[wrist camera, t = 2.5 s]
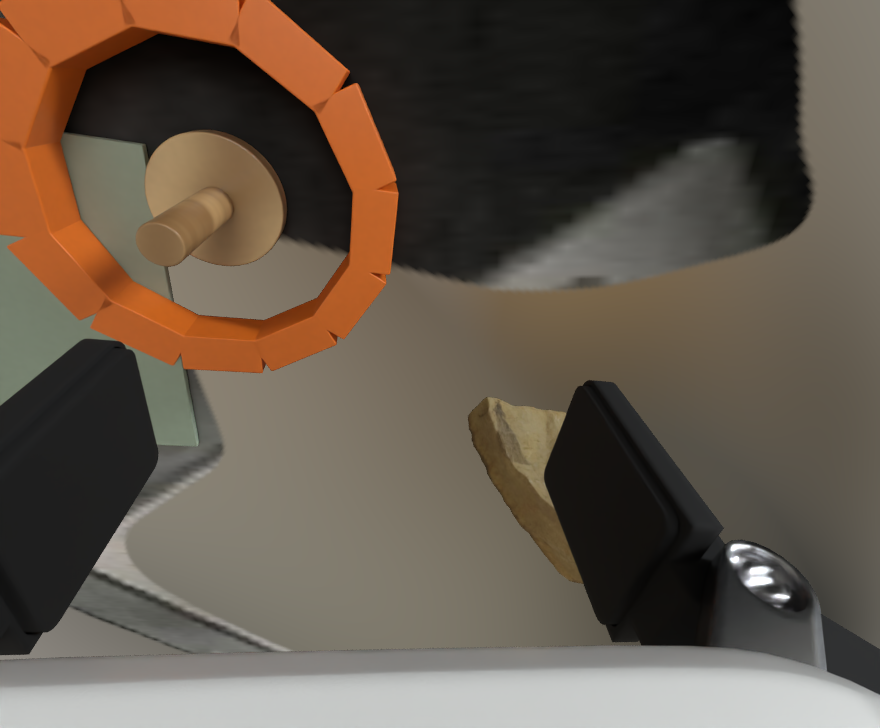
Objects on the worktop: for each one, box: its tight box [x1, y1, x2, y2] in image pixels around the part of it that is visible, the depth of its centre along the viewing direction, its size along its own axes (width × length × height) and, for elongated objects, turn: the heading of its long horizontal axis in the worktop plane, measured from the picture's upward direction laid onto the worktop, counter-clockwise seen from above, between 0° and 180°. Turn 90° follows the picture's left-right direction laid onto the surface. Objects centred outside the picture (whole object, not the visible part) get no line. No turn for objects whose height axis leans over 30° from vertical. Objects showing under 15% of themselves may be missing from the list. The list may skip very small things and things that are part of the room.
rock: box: [468, 397, 583, 584], centre depth 29 cm, size 11×9×10 cm
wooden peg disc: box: [136, 129, 287, 267], centre depth 18 cm, size 6×6×7 cm
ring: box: [0, 0, 398, 373], centre depth 20 cm, size 16×16×2 cm
